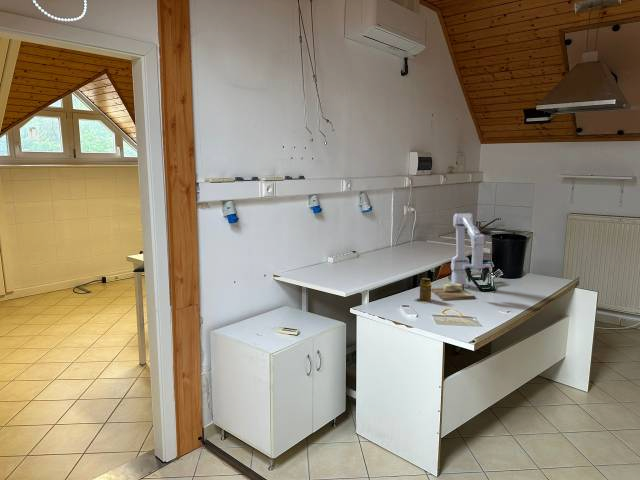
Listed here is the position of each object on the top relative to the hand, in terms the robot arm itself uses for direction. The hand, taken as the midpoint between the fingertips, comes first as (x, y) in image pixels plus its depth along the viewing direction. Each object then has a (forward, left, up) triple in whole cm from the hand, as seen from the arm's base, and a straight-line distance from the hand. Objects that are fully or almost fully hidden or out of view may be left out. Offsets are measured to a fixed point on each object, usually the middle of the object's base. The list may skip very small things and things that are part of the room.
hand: (476, 281), depth 259 cm
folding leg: (-12, -7, -8) cm, 16 cm away
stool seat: (-9, -9, -10) cm, 16 cm away
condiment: (-2, -28, -10) cm, 30 cm away
